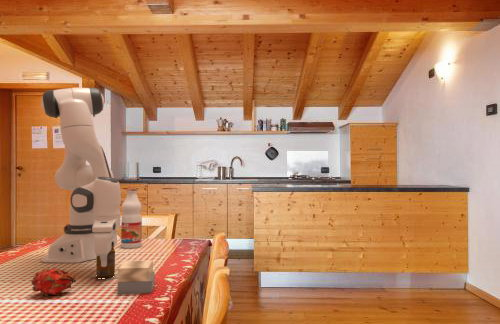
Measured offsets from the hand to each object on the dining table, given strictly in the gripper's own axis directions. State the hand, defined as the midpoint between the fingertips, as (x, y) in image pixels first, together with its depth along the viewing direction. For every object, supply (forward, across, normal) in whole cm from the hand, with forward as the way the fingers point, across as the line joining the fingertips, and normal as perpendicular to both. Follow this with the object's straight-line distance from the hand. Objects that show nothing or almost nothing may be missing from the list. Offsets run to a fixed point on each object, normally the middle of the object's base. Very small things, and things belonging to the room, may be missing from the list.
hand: (106, 262), depth 130 cm
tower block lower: (+5, +16, +12) cm, 21 cm away
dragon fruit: (+5, +17, -12) cm, 21 cm away
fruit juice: (+5, -49, +2) cm, 49 cm away
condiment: (+5, +1, 0) cm, 5 cm away
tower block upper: (+1, +16, +12) cm, 20 cm away
